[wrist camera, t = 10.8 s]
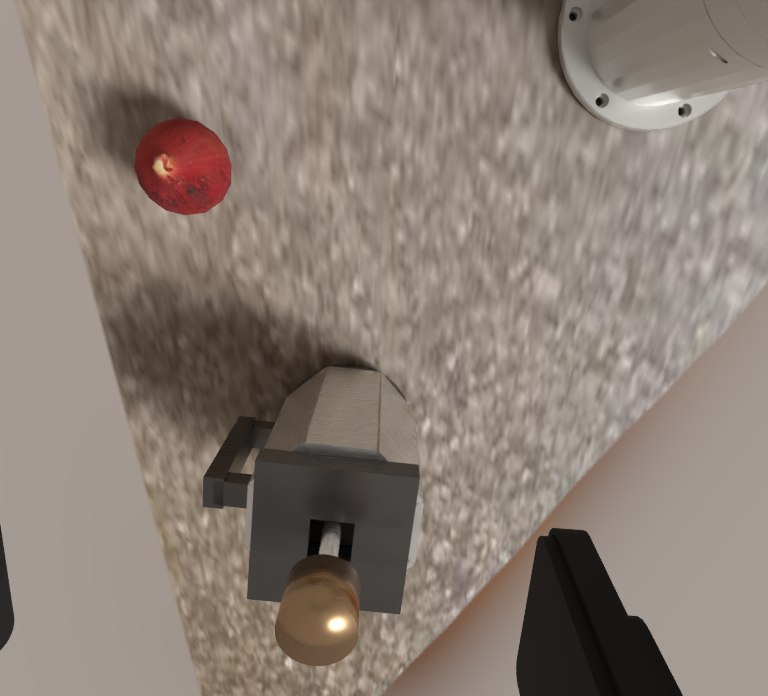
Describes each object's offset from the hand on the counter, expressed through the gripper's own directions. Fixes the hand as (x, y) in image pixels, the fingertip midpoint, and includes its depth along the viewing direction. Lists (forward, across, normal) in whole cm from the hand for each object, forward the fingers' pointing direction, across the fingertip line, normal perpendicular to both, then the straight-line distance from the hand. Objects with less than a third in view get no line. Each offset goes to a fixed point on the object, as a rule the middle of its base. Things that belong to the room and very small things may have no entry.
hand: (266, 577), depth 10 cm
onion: (+35, +12, -5) cm, 37 cm away
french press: (+35, +2, +13) cm, 37 cm away
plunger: (+32, +1, +13) cm, 35 cm away
